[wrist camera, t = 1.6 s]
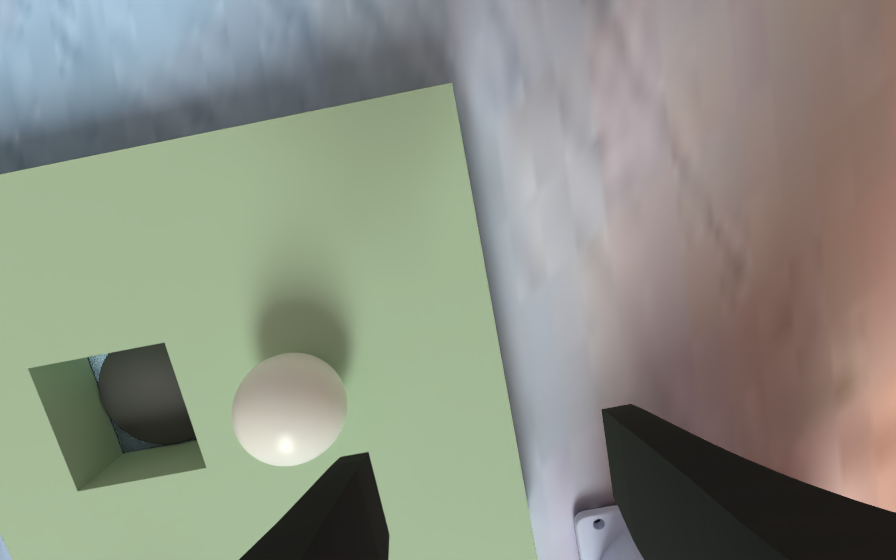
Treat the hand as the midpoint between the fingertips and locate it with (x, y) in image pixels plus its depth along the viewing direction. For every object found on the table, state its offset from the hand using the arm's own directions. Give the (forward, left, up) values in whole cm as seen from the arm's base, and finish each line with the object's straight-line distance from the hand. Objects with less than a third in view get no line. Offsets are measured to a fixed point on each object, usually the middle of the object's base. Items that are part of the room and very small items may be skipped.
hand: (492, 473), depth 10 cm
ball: (+6, 0, -5) cm, 8 cm away
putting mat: (+9, 0, -9) cm, 13 cm away
